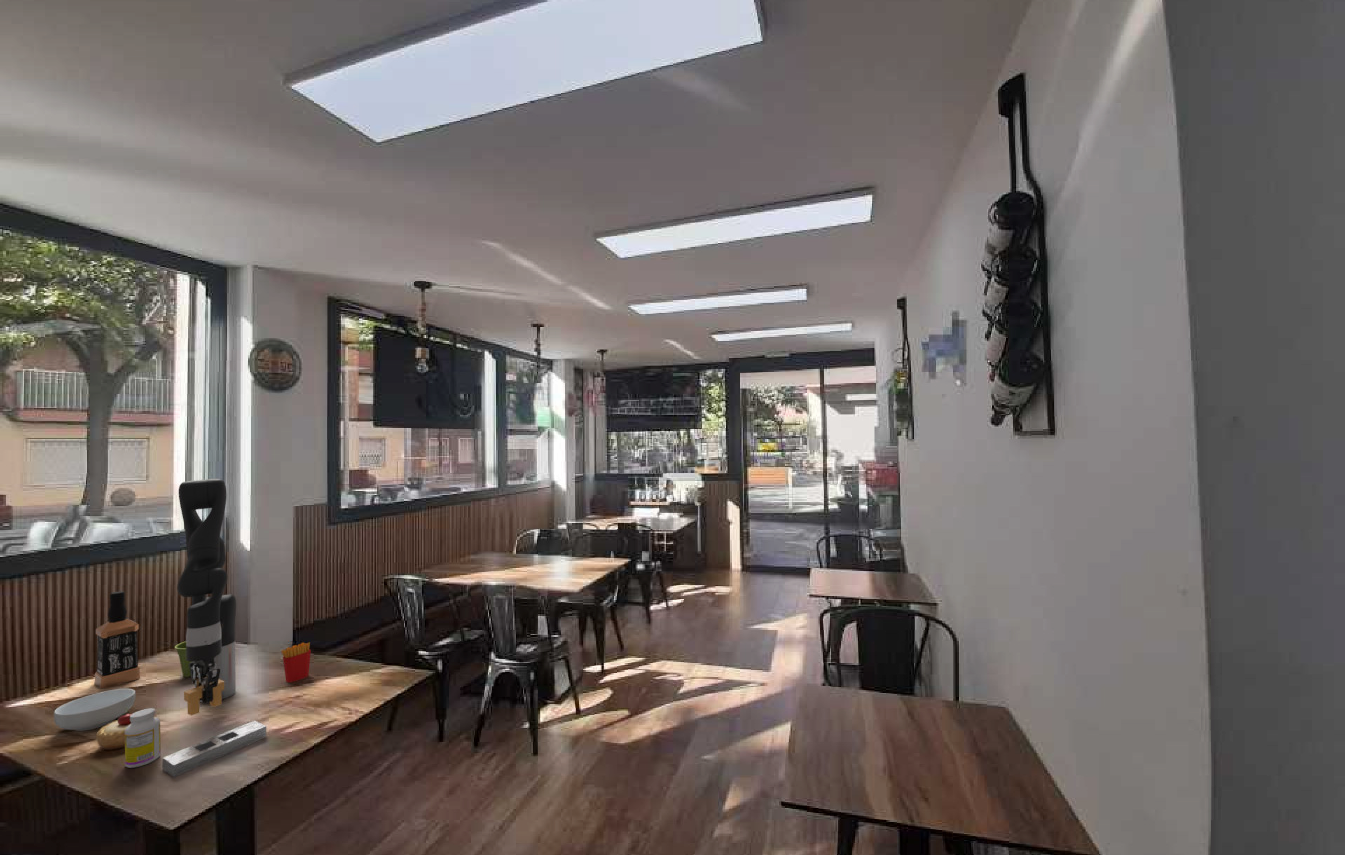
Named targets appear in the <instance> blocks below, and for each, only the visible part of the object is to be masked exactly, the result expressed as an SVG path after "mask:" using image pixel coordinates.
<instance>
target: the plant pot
mask: <svg viewBox="0 0 1345 855" xmlns="http://www.w3.org/2000/svg"><path fill="white" fill-rule="evenodd" d="M174 649H175V650H176V652H177V655H178V658H179V663H180V666H181V667H180V668H181V673H182V677H184V678H189V677H191V673H190V668H189V663H192V662H190V661H187V660H186V640H185V641H183V642H180V643H178V644H176V645H175V646H174Z"/></svg>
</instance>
